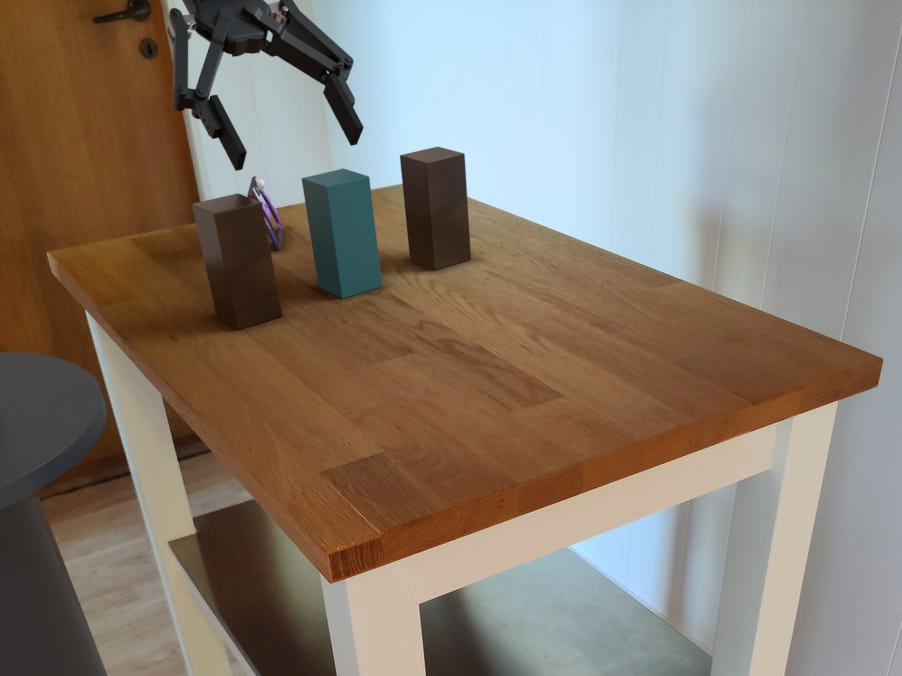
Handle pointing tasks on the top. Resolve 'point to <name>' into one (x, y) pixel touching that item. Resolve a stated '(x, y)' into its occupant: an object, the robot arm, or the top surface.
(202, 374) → the top surface
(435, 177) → the walnut block back
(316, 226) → the teal block
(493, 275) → the top surface
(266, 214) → the purple open frame
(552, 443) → the top surface
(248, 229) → the walnut block front
